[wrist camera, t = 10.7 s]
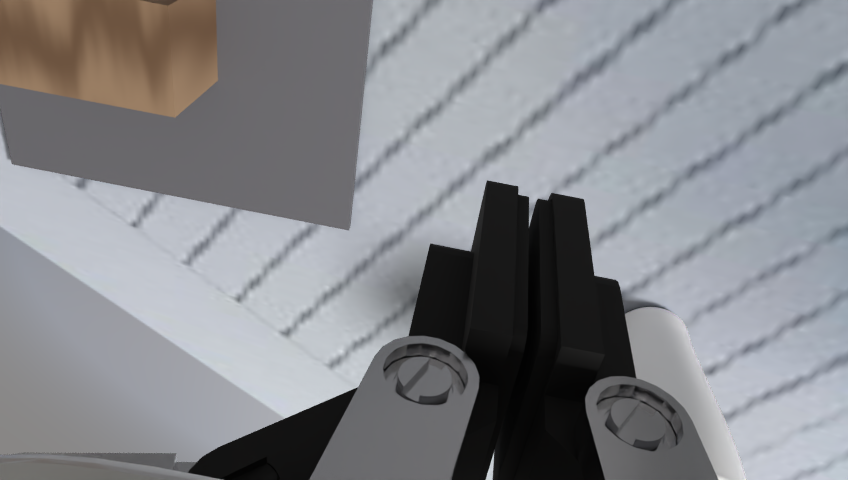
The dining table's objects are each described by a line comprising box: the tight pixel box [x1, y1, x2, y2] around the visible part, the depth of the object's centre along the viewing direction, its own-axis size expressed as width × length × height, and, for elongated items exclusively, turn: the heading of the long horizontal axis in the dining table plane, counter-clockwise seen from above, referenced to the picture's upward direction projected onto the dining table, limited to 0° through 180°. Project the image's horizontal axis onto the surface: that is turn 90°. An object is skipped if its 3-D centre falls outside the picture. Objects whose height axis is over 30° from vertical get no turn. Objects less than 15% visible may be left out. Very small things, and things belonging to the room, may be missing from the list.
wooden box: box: [0, 0, 218, 118], centre depth 38 cm, size 6×6×12 cm
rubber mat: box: [0, 0, 373, 230], centre depth 41 cm, size 24×24×1 cm
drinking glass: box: [625, 307, 747, 480], centre depth 42 cm, size 7×7×15 cm
